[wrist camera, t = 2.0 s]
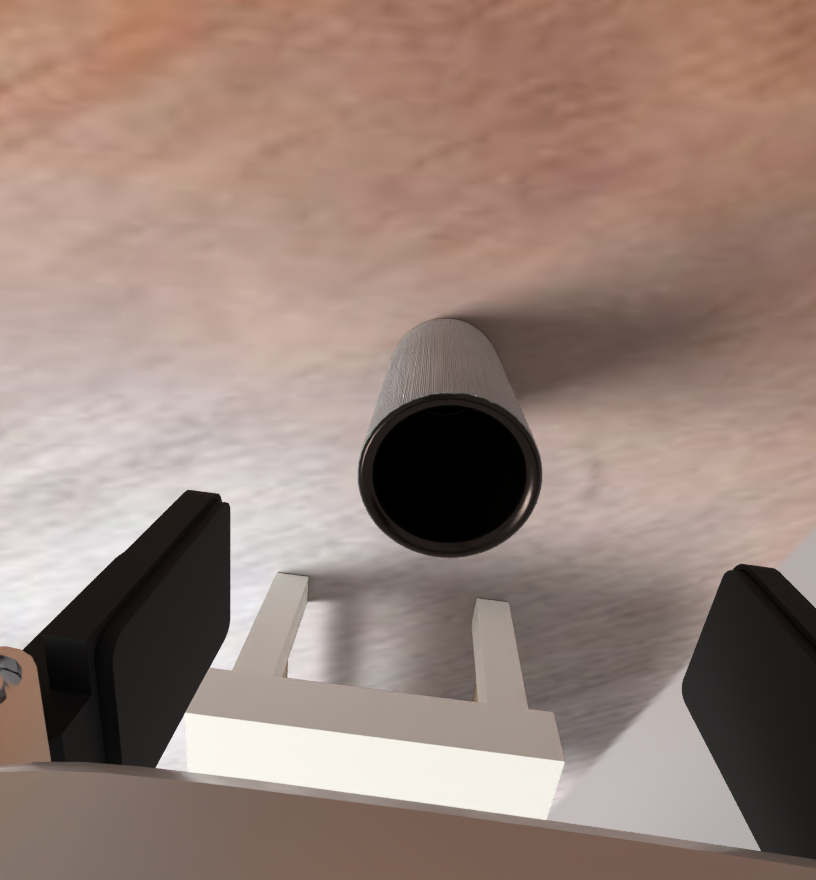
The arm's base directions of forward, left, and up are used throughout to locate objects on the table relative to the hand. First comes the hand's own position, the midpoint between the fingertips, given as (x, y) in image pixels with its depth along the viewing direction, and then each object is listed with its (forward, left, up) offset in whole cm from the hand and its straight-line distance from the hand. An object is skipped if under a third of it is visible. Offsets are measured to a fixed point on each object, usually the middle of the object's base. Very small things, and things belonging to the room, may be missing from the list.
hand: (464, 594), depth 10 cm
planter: (-1, 0, -14) cm, 14 cm away
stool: (+16, -1, -14) cm, 21 cm away
